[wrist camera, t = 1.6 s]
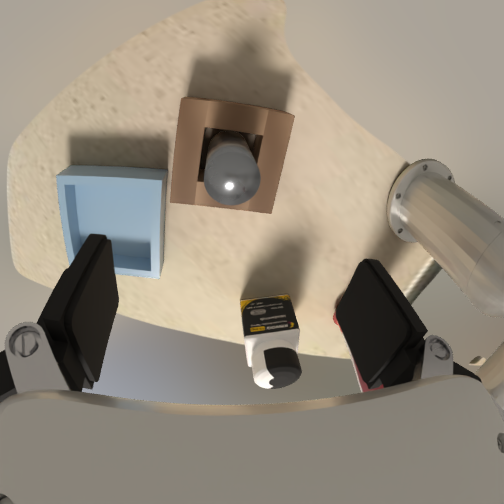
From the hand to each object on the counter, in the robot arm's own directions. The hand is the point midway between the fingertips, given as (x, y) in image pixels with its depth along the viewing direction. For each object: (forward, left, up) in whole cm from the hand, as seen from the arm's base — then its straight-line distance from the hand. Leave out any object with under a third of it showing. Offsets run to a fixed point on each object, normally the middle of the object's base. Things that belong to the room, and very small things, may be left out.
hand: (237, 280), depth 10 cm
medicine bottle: (-9, +23, -21) cm, 33 cm away
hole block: (0, 0, -21) cm, 21 cm away
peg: (0, 0, -21) cm, 21 cm away
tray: (+12, +9, -21) cm, 26 cm away
